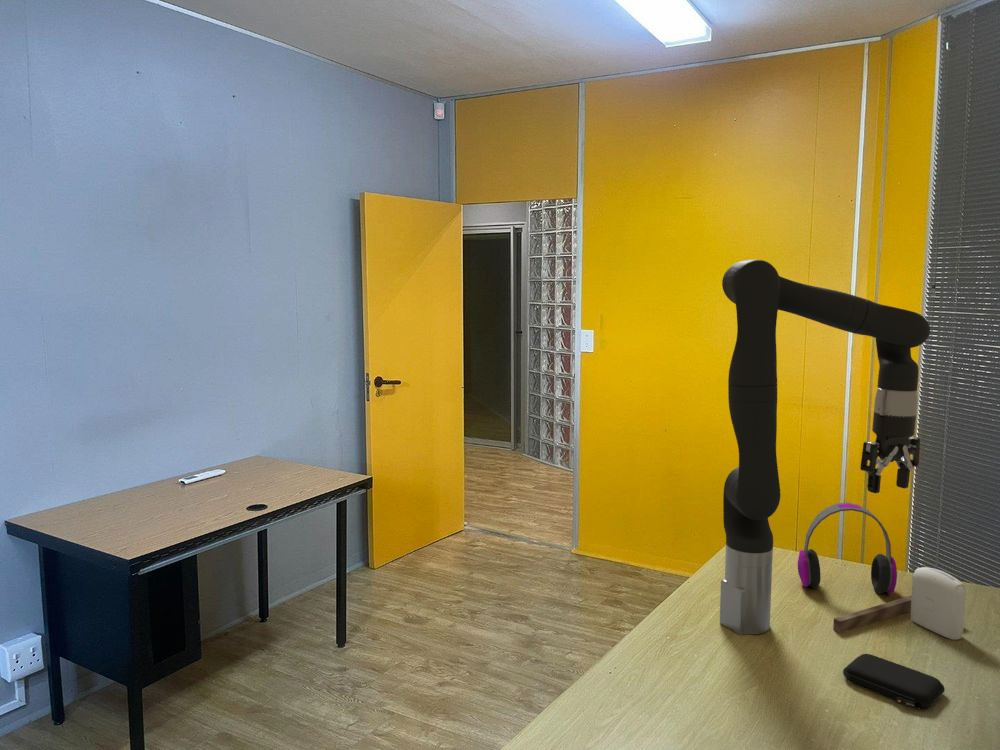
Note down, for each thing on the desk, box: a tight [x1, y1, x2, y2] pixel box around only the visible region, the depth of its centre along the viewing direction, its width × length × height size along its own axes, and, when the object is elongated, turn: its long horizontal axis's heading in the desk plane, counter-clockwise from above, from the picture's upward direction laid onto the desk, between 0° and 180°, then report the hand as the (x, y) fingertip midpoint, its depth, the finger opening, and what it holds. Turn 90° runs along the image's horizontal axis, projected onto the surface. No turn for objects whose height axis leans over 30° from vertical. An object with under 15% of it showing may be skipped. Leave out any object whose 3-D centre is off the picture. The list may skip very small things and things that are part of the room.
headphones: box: [797, 502, 898, 595], centre depth 171 cm, size 21×9×20 cm, turn 77°
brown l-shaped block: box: [832, 594, 912, 634], centre depth 153 cm, size 25×10×3 cm, turn 116°
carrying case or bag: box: [842, 653, 946, 711], centre depth 131 cm, size 11×3×15 cm
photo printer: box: [910, 566, 967, 641], centre depth 152 cm, size 10×4×12 cm, turn 21°
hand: (887, 489), depth 151 cm, fingers open, 8 cm apart
